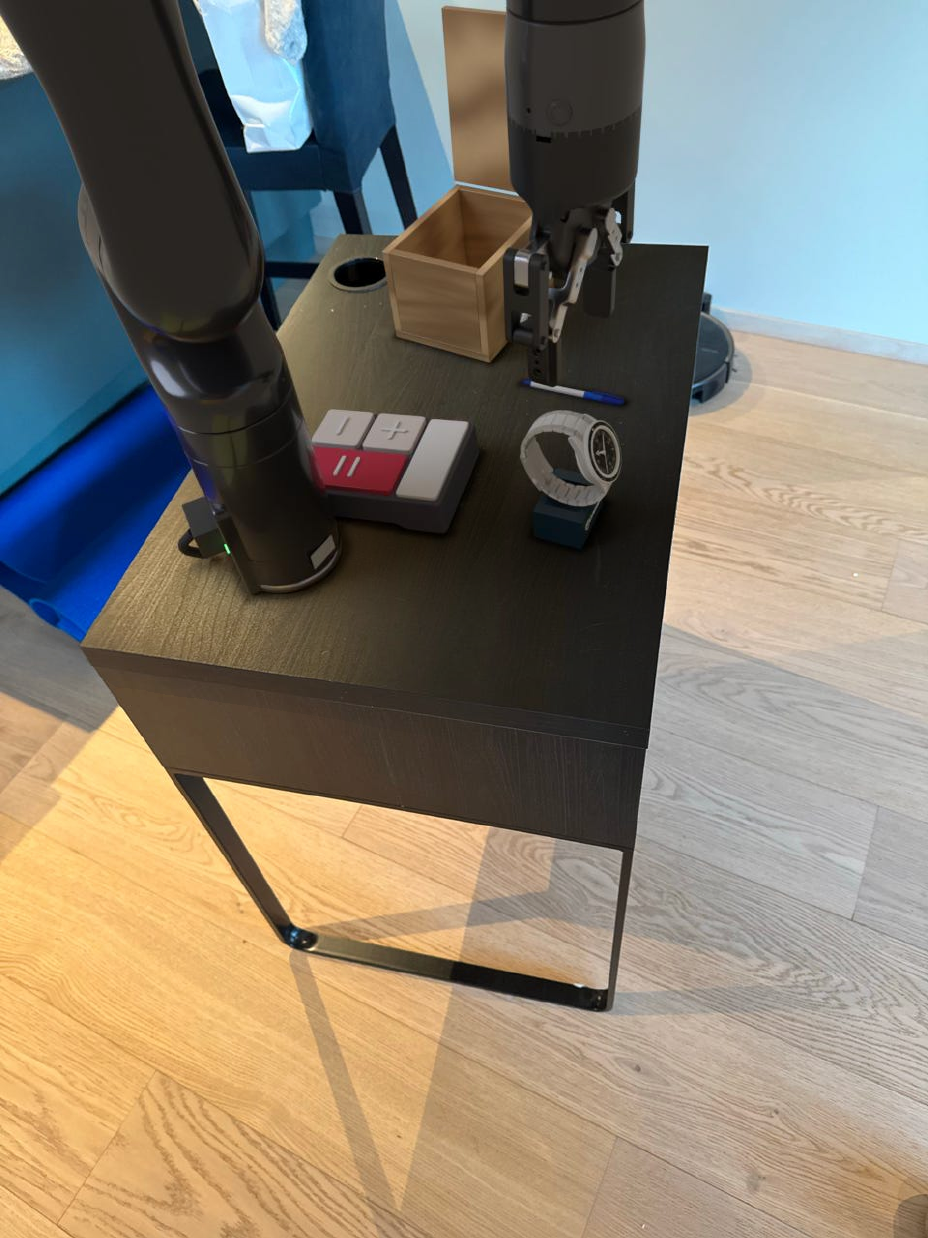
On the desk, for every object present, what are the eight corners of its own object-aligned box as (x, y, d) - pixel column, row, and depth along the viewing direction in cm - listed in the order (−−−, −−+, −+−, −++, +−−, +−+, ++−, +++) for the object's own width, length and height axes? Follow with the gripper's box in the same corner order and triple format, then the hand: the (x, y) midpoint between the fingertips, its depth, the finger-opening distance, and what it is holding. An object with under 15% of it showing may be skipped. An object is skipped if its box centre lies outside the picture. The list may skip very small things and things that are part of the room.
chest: (489, 362, 88) (482, 274, 80) (396, 336, 92) (381, 250, 84) (553, 289, 95) (553, 201, 87) (464, 268, 99) (456, 183, 91)
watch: (603, 555, 70) (609, 455, 62) (514, 531, 73) (508, 432, 64) (624, 509, 73) (633, 408, 64) (538, 488, 76) (535, 388, 67)
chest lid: (553, 19, 74) (578, 1, 77) (440, 7, 79) (467, -9, 81) (551, 199, 87) (572, 179, 89) (454, 180, 91) (477, 162, 94)
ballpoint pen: (625, 402, 82) (626, 394, 82) (622, 408, 82) (623, 399, 81) (525, 383, 86) (525, 375, 85) (522, 388, 85) (521, 380, 84)
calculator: (325, 403, 80) (475, 414, 76) (337, 438, 84) (481, 451, 79) (278, 481, 74) (438, 499, 70) (293, 516, 77) (446, 534, 73)
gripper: (569, 39, 51) (568, 283, 64) (450, 142, 44) (476, 392, 57) (687, 51, 48) (661, 304, 61) (579, 164, 42) (576, 421, 54)
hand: (572, 346), depth 59 cm, fingers open, 8 cm apart
